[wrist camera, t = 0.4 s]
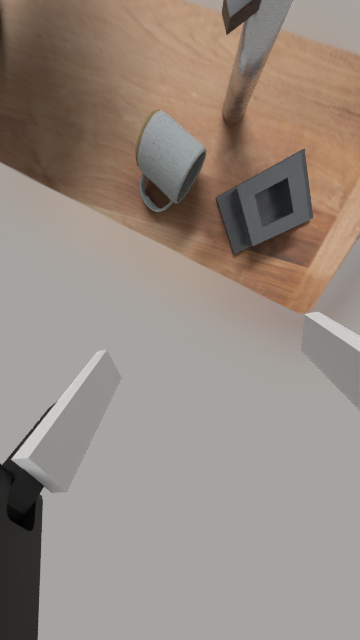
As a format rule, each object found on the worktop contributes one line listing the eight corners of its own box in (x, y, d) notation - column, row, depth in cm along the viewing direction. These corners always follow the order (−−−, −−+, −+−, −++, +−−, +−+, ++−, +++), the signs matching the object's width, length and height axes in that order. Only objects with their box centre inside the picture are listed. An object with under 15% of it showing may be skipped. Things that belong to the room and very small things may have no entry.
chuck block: (215, 198, 30) (219, 192, 26) (301, 150, 26) (320, 136, 23) (233, 253, 33) (239, 255, 30) (310, 218, 30) (327, 215, 26)
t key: (211, 139, 26) (234, 37, 13) (203, 113, 25) (219, -30, 12) (263, 106, 25) (353, -54, 11) (258, 75, 23) (351, -144, 10)
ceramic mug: (163, 123, 26) (153, 83, 19) (205, 163, 28) (210, 139, 21) (131, 193, 30) (114, 181, 23) (169, 224, 32) (163, 221, 25)
